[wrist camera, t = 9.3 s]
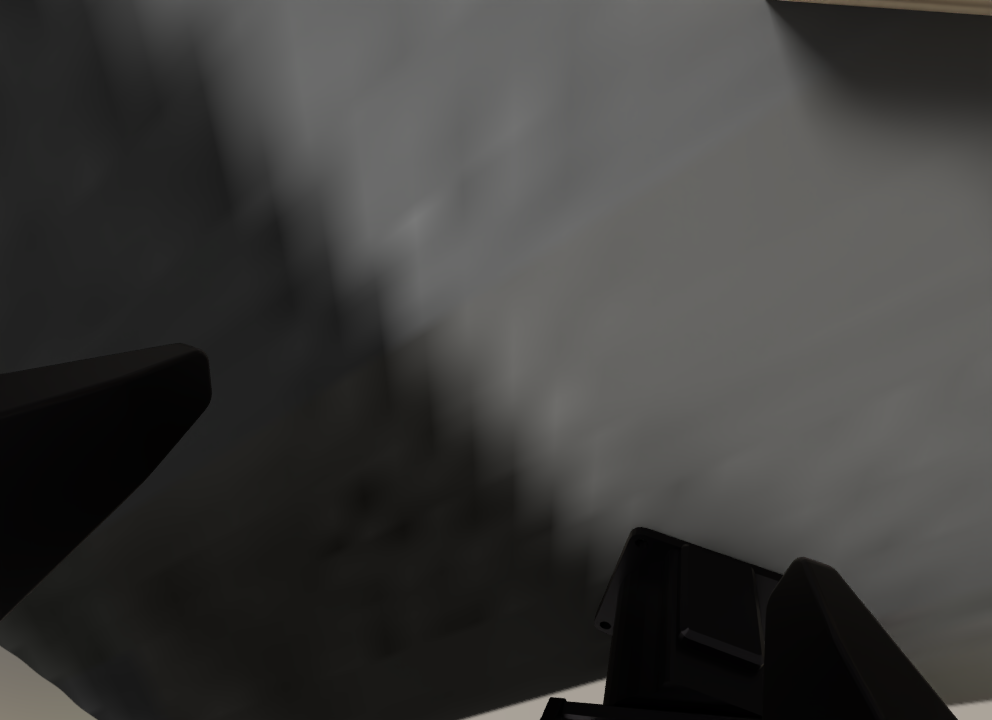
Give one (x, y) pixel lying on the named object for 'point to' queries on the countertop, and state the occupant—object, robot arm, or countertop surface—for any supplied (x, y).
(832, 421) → the countertop surface
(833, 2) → the maple block
